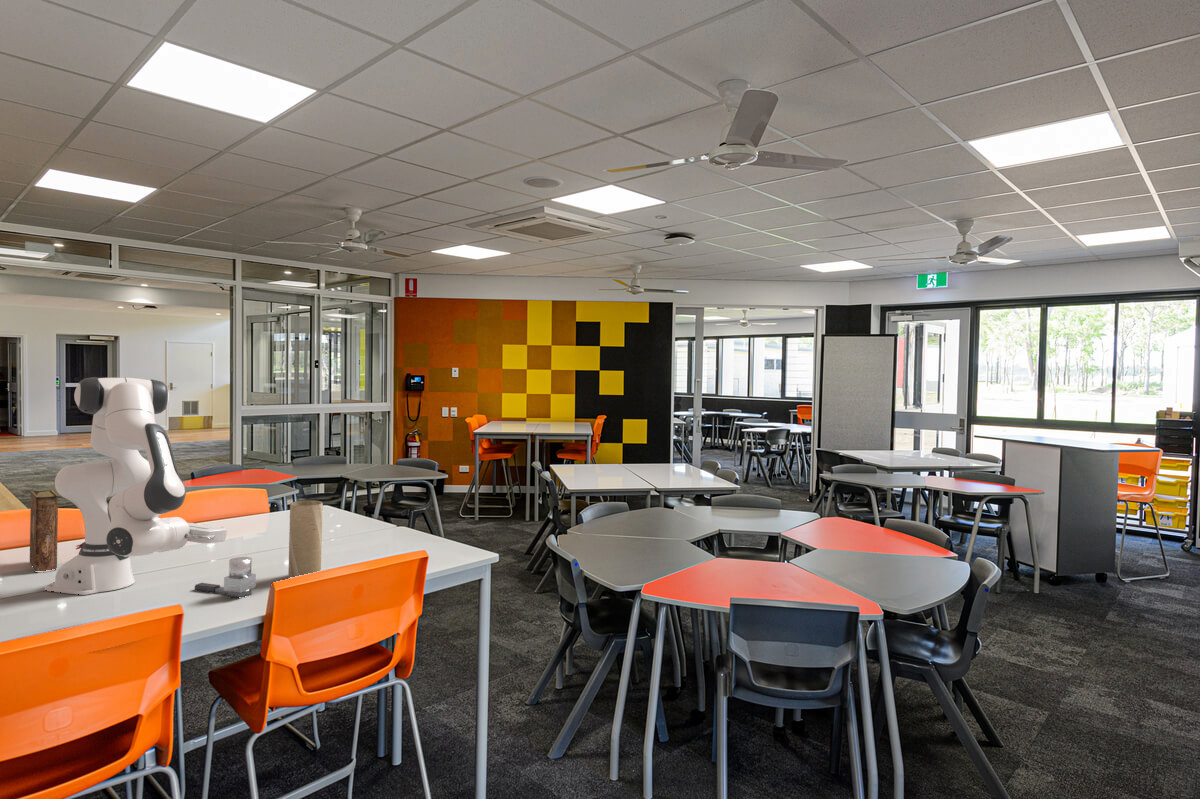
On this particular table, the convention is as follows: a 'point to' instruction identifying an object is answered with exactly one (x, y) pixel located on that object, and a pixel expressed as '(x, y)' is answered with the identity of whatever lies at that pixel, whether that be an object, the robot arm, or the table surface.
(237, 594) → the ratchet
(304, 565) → the tube
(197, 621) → the table surface
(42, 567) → the book
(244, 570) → the grey block with cylinder
